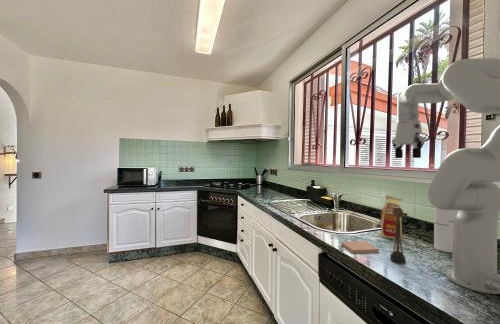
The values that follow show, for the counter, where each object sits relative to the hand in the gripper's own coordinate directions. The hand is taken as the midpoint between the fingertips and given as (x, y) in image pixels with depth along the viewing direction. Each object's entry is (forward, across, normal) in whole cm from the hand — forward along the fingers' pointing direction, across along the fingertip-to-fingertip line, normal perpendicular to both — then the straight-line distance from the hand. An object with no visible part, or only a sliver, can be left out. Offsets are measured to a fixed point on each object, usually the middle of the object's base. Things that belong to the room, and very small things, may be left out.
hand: (407, 157), depth 97 cm
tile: (+38, -2, +18) cm, 42 cm away
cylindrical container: (+39, -6, -12) cm, 41 cm away
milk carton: (+39, +12, -2) cm, 41 cm away
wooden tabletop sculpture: (+38, -15, +16) cm, 44 cm away
